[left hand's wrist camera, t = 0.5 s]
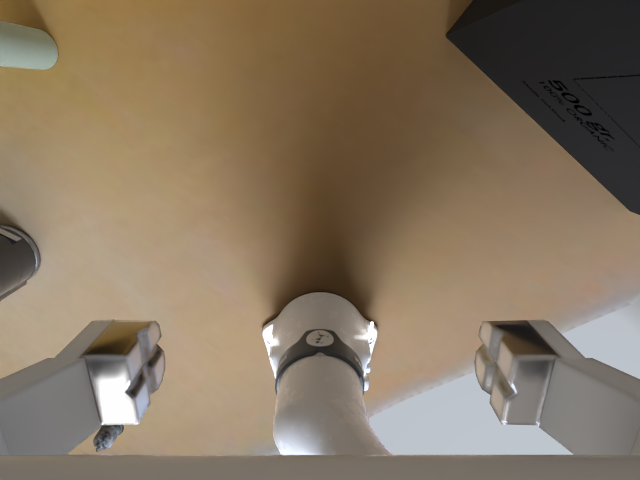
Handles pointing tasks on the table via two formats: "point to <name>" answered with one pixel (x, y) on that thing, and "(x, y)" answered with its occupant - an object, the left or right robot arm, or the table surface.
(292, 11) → the table surface
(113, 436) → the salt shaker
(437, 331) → the table surface
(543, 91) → the black boxy piece
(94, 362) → the left robot arm
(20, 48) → the jar
